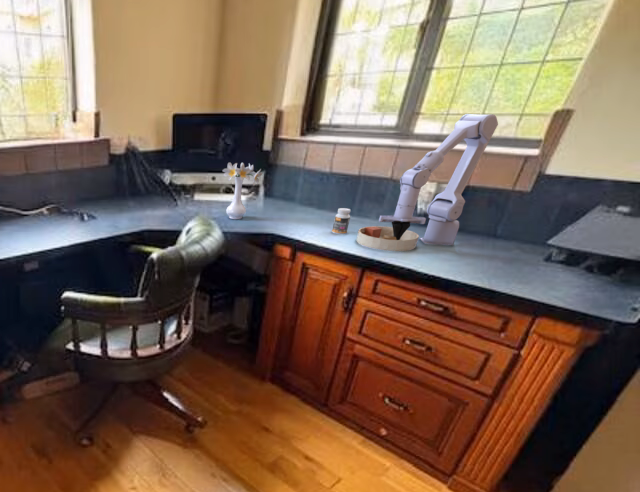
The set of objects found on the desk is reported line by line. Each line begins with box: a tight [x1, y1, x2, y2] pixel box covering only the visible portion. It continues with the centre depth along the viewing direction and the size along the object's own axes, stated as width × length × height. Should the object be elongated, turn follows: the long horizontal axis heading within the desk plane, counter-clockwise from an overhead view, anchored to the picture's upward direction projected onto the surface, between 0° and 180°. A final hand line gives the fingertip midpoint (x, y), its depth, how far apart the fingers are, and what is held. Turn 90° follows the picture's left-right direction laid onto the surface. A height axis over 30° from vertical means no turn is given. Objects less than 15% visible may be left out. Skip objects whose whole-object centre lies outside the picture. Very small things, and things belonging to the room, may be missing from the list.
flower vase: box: [221, 162, 263, 220], centre depth 198 cm, size 13×18×25 cm
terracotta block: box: [364, 225, 382, 238], centre depth 167 cm, size 4×4×4 cm
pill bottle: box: [331, 207, 352, 235], centre depth 174 cm, size 6×6×10 cm
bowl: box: [355, 225, 420, 252], centre depth 161 cm, size 20×20×4 cm
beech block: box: [383, 235, 397, 240], centre depth 155 cm, size 4×4×4 cm
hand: (395, 241), depth 158 cm, fingers closed
